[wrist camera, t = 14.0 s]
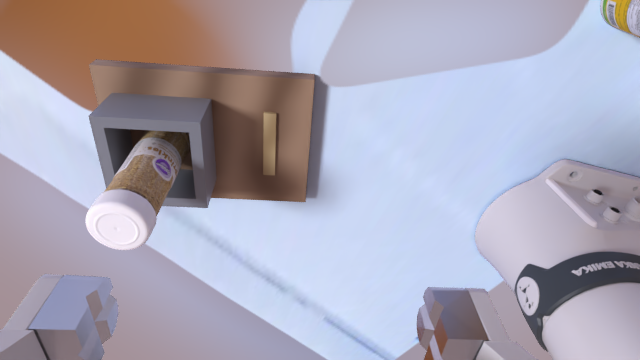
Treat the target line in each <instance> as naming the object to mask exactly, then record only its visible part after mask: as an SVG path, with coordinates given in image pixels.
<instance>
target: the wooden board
mask: <svg viewBox="0 0 640 360" xmlns="http://www.w3.org/2000/svg"><path fill="white" fill-rule="evenodd" d="M89 67H90V72H91V76H92V81H93V85H94V89H95V94H96V98H97V102H98V106H99V105H100V104H101V103H102V102H103V101H104V100H105V99H106V98H107V97H108V96H109V95H110V94H111V93H126V94H142V95H158V96H174V97H190V98H206V99H211V103H212V118H213V133H214V148H215V162H216V177H217V179H216V182H215V186H214V189H213V192H212V195H211V198H229V199H251V200H272V201H294V202H305V200H306V187H307V173H308V160H309V147H310V134H311V120H312V107H313V94H314V81H315V79H314V74H304V73H288V72H274V71H259V70H245V69H230V68H216V67H215V68H214V67H200V66H186V65H171V64H156V63H141V62H127V61H126V62H125V61H112V60H111V61H110V60H97V59H96V60H95V61H93V62H92V63H91V64H90V65H89ZM144 131H145V130H135V129H130V132H131V138H132V143H133V148H134V147H135V145H136V144H137V143H138V142H139V141H140V139H141V138H142V136H143V134H144ZM185 133H186V135H187V136H188V139H189V142H190V137H189V133H188V132H185ZM180 169H189V170H193V166H192V157H191V147H190V149H189V151H188V154H187V155H186V156H185V158H184V160H183V162H182V164H181V168H180Z"/></svg>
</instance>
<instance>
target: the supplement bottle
mask: <svg viewBox="0 0 640 360" xmlns="http://www.w3.org/2000/svg"><path fill="white" fill-rule="evenodd" d="M600 11H601V15H602V17H603V19H604V20H605V22H606V23H608V24H609V25H611V26H613V27H615V28H617V29H619V30H622V31H624V32H627V33H629V34H632V35H634V36H637V37H639V38H640V0H601V3H600Z"/></svg>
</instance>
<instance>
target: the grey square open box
mask: <svg viewBox="0 0 640 360" xmlns="http://www.w3.org/2000/svg"><path fill="white" fill-rule="evenodd" d="M89 120H90V124H91V128H92V132H93V136H94V140H95V144H96V148H97V152H98V156H99V160H100V164H101V168H102V172H103V176H104V180H105V185H106V189H107V187H108V186H109V185H110V183H111V182H112V180H113V178H114V176H115V175H116V173H117V172H118V170H119V169H120V167H121V166H122V164H123V163H124V161H125V160H126V159H127V157H128V156H129V154H130V153H131V151H132V150H133V143H132V138H131V132H130V129H135V130H153V131H170V132H188V133H189V137H190V147H191V157H192V166H193V170H189V169H180V170H179V172H178V174H177V177H176V179H175V181H174V183H173V185H172V187H171V189H170V190H169V192H168V194H167V196H166V198H165V200H164V202H163V204H162V206H175V207H198V208H208V205H209V201H210V198H211V195H212V192H213V189H214V186H215V182H216V179H217V177H216V162H215V148H214V133H213V118H212V103H211V99H206V98H190V97H174V96H158V95H142V94H126V93H111V94H110V95H109V96H108V97H107V98H106V99H105V100H104V101H103V102H102V103H101V104H100V105H99V106H98V107H97V108H96V109H95V110H94V111H93V112H92V113H91V114H90V115H89Z"/></svg>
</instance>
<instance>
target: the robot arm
mask: <svg viewBox="0 0 640 360" xmlns="http://www.w3.org/2000/svg"><path fill="white" fill-rule="evenodd" d="M572 172H573V173H572ZM571 173H572V174H571ZM475 242H476V246H477V249H478V251H479V252H480V254H481V255H482V256H483V257H484V258H485V259H486V260H487V261H488V262H489V263H490V264H491V265H492V266H493V267H494V268H495V270H496V271H497V272H498V273H499V274H500V276H501V277H502V278H503V279H504V281H505V282H506V283H507V284H508V286H509V287H510V289H511V290H512V291H513V293H514V294H515V296H516V297H517V300H518V303H519V305H520V308H521V310H522V313H523V315H524V317H525V319H526V321H527V323H528V325H529V327H530V328H531V330H532V332H533V334H534V335H535V337H536V339H537V341H538V342H539V344H540V345H541V347H542V348H543V349H544V350H546V351H547V352H549V354H550V356H551V358H552V359H553V360H640V178H639V177H636V176H632V175H628V174H624V173H620V172H616V171H612V170H608V169H604V168H600V167H596V166H592V165H588V164H584V163H580V162H576V161H572V160H568V159H563V160H559V161H557V162H555V163H554V164H552V165H551V166H550V167H548V168H547V169H546V170H545V171H543V172H542V173H541V174H540V175H538V176H537V177H535V178H533V179H531V180H529V181H526V182H524V183H522V184H519V185H517V186H515V187H513V188H511V189H510V190H508V191H506V192H505V193H503V194H502V195H501V196H499V197H498V198H497V199H496V200H495V201H494V202H492V203H491V204H490V206H489V207H488V208H487V209H486V210H485V212H484V213H483V215H482V216H481V218H480V220H479V222H478V225H477V228H476V232H475ZM112 288H113V286H112V283H111V280H110V278H108V277H96V276H78V275H56V274H44V275H43V276H41V277H40V278H38V279H37V281H36V282H35V284H34V285H33V286H32V288H31V289H30V291H29V292H28V293H27V295H26V296H25V298H24V299H23V301H22V302H21V303H20V305H19V306H18V308H17V309H16V310H15V312H14V313H13V315H12V316H11V317H10V319H9V320H8V322H7V323H6V325H5V326H4V327H3V329H0V360H101V359H102V357H103V355H104V349H103V346H102V344H103V343H104V342H105V341H107V340H108V339H109V338H110V337H111V336H112V334H113V332H114V330H115V327H116V323H117V317H118V304H117V300H116V299H115V298H114V297H113V296H112V295H110V292H111V290H112ZM423 298H424V302H425V304H424V305H423V306H422V307H420V308H419V312H418V315H417V333H418V338H419V342H420V344H421V345H422V346H423V347H424V348H425V349H426V350H427V352H426V355H425V358H424V360H538V359H536V358H535V357H534V356H533V355H532V354H530V353H529V352H528V351H526V350H525V349H524V348H523V347H522V346H521V345H520V344H518V343H517V342H511V341H510V339H509V337H508V335H507V332H506V331H505V328H504V326H503V324H502V322H501V320H500V318H499V316H498V313H497V311H496V309H495V307H494V305H493V303H492V301H491V299H490V297H489V295H488V292H487V291H486V290H485V289H475V288H465V289H464V288H441V287H428V288H427V289H426V290H425V293H424V296H423Z"/></svg>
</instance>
